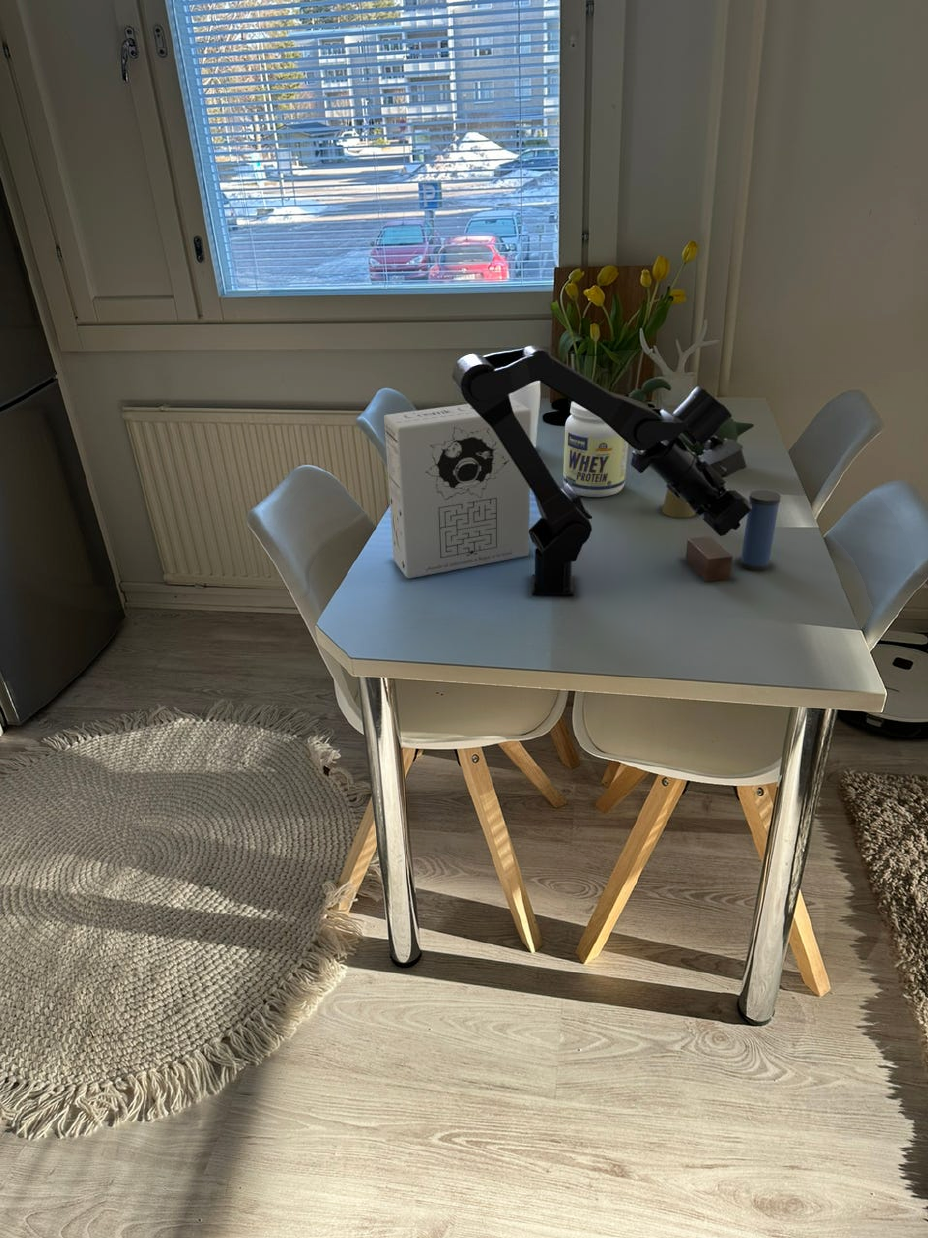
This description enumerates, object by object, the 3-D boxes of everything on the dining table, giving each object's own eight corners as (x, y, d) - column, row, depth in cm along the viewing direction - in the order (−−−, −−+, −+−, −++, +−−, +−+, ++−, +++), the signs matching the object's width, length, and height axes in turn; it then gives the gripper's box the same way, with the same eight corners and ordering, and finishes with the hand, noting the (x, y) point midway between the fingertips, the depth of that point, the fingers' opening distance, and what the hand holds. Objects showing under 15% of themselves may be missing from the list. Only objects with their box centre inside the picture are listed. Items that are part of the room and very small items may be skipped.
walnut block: (705, 582, 138) (708, 559, 136) (685, 560, 144) (687, 538, 142) (729, 579, 138) (732, 556, 136) (707, 558, 145) (710, 535, 143)
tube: (717, 541, 136) (774, 486, 134) (704, 529, 140) (760, 476, 138) (759, 583, 142) (815, 531, 139) (745, 570, 146) (800, 520, 143)
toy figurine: (628, 476, 184) (753, 471, 178) (626, 386, 175) (758, 378, 169) (630, 461, 192) (750, 456, 186) (628, 374, 183) (754, 366, 177)
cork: (658, 514, 161) (663, 457, 156) (667, 503, 166) (673, 447, 161) (690, 519, 159) (697, 461, 153) (699, 508, 164) (706, 451, 158)
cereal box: (511, 539, 153) (512, 397, 141) (529, 556, 147) (532, 409, 135) (393, 560, 147) (383, 414, 134) (407, 579, 141) (397, 427, 128)
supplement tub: (556, 495, 171) (559, 410, 162) (570, 474, 181) (573, 392, 172) (618, 502, 167) (624, 414, 159) (629, 480, 177) (635, 397, 169)
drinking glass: (503, 446, 197) (503, 379, 190) (530, 441, 200) (531, 375, 192) (517, 455, 192) (518, 386, 184) (544, 450, 194) (546, 382, 187)
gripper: (748, 445, 121) (807, 512, 129) (692, 408, 137) (748, 469, 145) (688, 504, 124) (750, 566, 131) (640, 461, 140) (698, 518, 147)
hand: (737, 526), depth 139 cm, fingers closed
